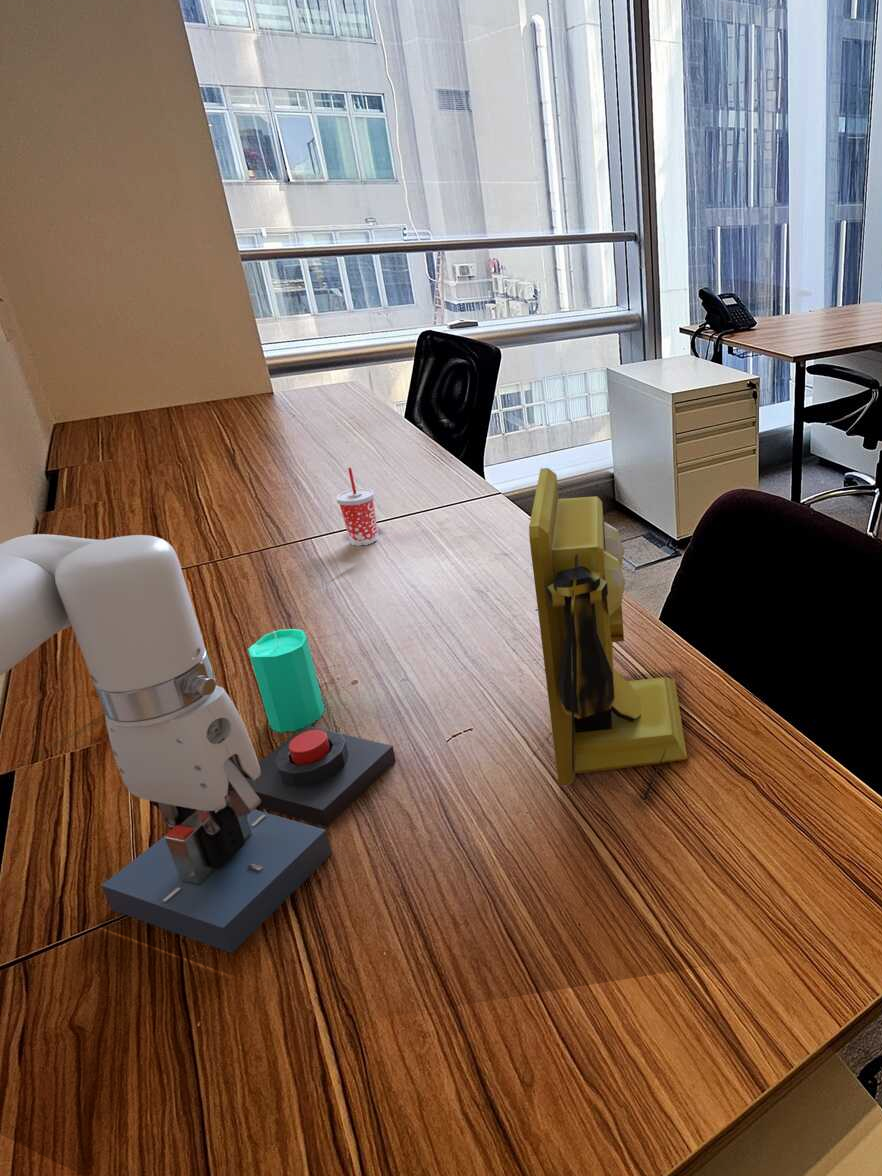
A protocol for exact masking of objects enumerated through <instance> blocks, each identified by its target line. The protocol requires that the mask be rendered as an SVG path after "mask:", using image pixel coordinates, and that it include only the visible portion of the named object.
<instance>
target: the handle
mask: <svg viewBox="0 0 882 1176" xmlns="http://www.w3.org/2000/svg"><path fill="white" fill-rule="evenodd" d="M218 811H219V810H216V811H215V813H217V812H218ZM237 818H238V821H239V824H240V827H241V830H242V833H243V836H244V839H246V838H247V837H248V836H249V835H251V834H252V830H251V827H250V824H249V821H248V818H247V815H243V816H238V817H237ZM203 832H205V830H204V828H203V825H202V822H201V819H200V817H199V814H198V811H197V810H196V811H195V812H194V813H193V814H191V815H190V816H189V817H188V818H187V819H186V820H184V821H183V822H182V823H181V824H180V825H179V826H178V825H177V826H175V827H172V829H171V830H169V831H168V832H167V833H166V835H167V836H166V837H165V840H166V842H167V845H168V848H169V850H170V853H171V856H172V858H173V861H174V864H175V867H176V869H177V872H178V875H179V877H180V880H181V881H186V882H191V883H195V884H200V883H201V882H202V881H203V880H204V879H205V878H206V877H207V876H208V875H209V874H210V873H211V872H212V871H213V870H214V868H212V867H211V865H210V862H209V859H208V856H207V853H206V850H205V848H204V845H203V842H202V839H201V835H202V833H203Z"/></svg>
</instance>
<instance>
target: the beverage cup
mask: <svg viewBox="0 0 882 1176" xmlns="http://www.w3.org/2000/svg"><path fill="white" fill-rule="evenodd" d="M347 469H348V474H349V480H350V484H351V489H349V490H346V491H345V490H344V491H343V492H340V493H338V494H337V496H336V497H335V499H336V502H337V504H338V505H339V507H340V508H339V509H340V511H341V514H342V517H343V523H344V525H345V528H346V532H347V535H348V538H349V539H348V540H349V543H350V544H351V546H354V545H356V546H355V547H362V546H361V545H365V546H369V545H372V544H374V543H373V542H375V541H376V542H377V541H378V540H379V531H378V524H377V515H376V509H375V502H374V501H375V499H374V498H375V491H374V490H373V489H370V488H356V485H355V481H354V476H353V470H352V467H348V468H347ZM376 542H375V543H376ZM371 543H372V544H371ZM368 544H369V545H368Z"/></svg>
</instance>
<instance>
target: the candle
mask: <svg viewBox="0 0 882 1176" xmlns="http://www.w3.org/2000/svg"><path fill="white" fill-rule="evenodd" d="M307 638H308V637H307V635H306V633H305V631H304V630H303V629H296V628H287V629H284V628H283V629H277V630H273V631H272V632H269V633H266V634H264V635H262V636H261V637H260V638H259V639H258V640H257V641H256V642H254V643H253V644H252V645H251V646H250V647H248V648H247V651H248V654H249V658H250V661H251V665H252V668H253V672H254V675H255V679H256V683H257V685H258V690H259V693H260V697H261V699H262V704H263V708H264V710H265V713H266V714H265V715H266V717H267V721H268V724H269V726H271V727H270V729H271V730H272V729H273V730H272V731H275V730H276V732H279V733H288V732H287V731H290V732H297V731H299V730H301V728H304V727H305V726H306V725H308V726H309V725H310V726H312V725H313V724H314V723H316V722H317V721H318V720H319V719H321V718H322V716H323V714H324V712H325V706H324V705H325V704H324V700H323V697H322V694H321V689H320V685H319V681H318V678H317V673H316V669H315V665H314V661H313V659H312V658H313V656H312V654H311V649H310V645H309V641H308V639H307ZM320 717H321V718H320ZM316 720H317V721H316ZM312 723H313V724H312ZM298 729H299V730H298ZM296 730H297V731H296Z"/></svg>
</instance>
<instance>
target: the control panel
mask: <svg viewBox="0 0 882 1176" xmlns="http://www.w3.org/2000/svg"><path fill="white" fill-rule="evenodd" d="M247 818H248V821H249V824H250V827H251V830H252V834H251V835H249V836H248V837H247V838H246V839H245V843H244V845H243V847H242V848H241V849H239V850H238V851H237V852H236V853H235V854H234V855H233V856H232V857H231V858H230V859H229V860H228V861H227V862H226V863H225V864H224V865H223V866H222V867H221V868H220V869H214V870H213V871H212V872H211V873H210V874H209V875H208V876H207V877H206V878H205V879H204V880H203V881H202V882H201V883H200V884H195V883H191V882H186V881H181V880H180V877H179V875H178V872H177V869H176V867H175V864H174V861H173V858H172V856H171V853H170V850H169V848H168V845H167V842H166V840H165V837H166V836H167V834H165V835H164V836H162V837H161V838H160V839H159V840H157V841H156V842H155V843H154V844H152V845H151V846H149V847H148V848H147V849H146V850H144V851H143V852H142V853H140V854H139V855H138V856H137V857H136V858H134V859H133V860H132V861H130V862H129V863H127V864H126V865H125V866H124V867H123V868H121V869H120V870H119V871H118V872H116V873H115V874H114V875H112V876H110V878H109V879H107V880H106V881H105V882H103V883H102V884H101V885H100V887H101V889H102V891H103V893H104V896H105V898H106V901H107V903H108V905H109V907H110V910H111V911H113V912H115V913H119V914H121V915H125V916H127V917H130V918H132V919H135V920H138V921H141V922H144V923H146V924H149V925H151V926H155V927H158V928H159V929H163V930H166V931H168V932H172V933H174V934H177V935H179V936H182V937H186V938H188V939H191V940H194V941H197V942H199V943H202V944H205V945H207V946H211V947H213V948H216V949H218V950H222V951H225V952H227V953H230V954H233V953H234V952H235V951H236V950H237V949H238V948H239V947H240V946H241V945H242V944H243V943H244V942H245V941H246V940H247V939H249V937H251V935H252V934H253V933H254V932H255V931H256V930H257V929H259V927H260V926H261V925H262V924H263V923H264V922H265V921H266V920H267V919H268V918H269V917H270V916H272V914H273V913H274V912H275V911H276V910H277V909H278V908H279V907H281V905H282V904H283V903H285V901H286V900H287V899H288V898H289V897H290V896H291V895H292V894H294V892H295V891H296V890H297V889H298V888H299V887H300V886H301V885H302V884H303V883H304V882H305V881H307V879H309V877H310V876H311V875H312V874H313V873H314V872H315V871H317V869H318V868H319V867H321V866H322V865H323V863H324V862H325V861H326V860H327V859H328V858H329V857H330V856H331V855H333V852H332V851H333V850H332V847H331V844H330V841H329V837H328V833H327V830H326V829H324V828H321V827H317V826H314V825H311V824H307V823H304V822H300V821H297V820H293V819H289V818H286V817H282V816H279V815H275V814H272V813H269V812H265V811H262V810H258V809H256V808H255V809H254V810H253V811H252V812H251V813H249V814H247Z"/></svg>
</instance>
